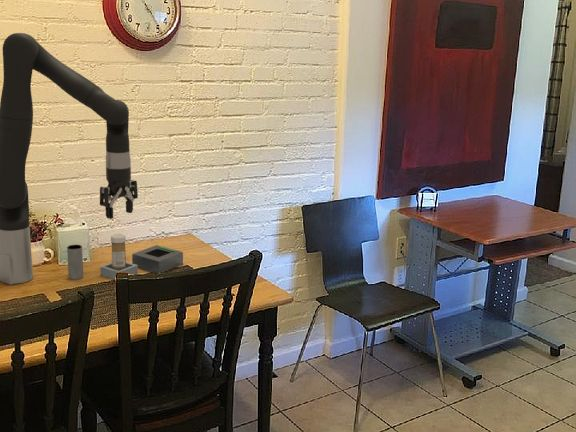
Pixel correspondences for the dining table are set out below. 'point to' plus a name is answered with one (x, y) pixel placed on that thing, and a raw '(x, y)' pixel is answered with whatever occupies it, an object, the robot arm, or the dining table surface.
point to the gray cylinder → (75, 262)
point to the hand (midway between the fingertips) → (119, 215)
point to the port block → (157, 259)
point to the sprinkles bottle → (118, 251)
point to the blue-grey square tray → (111, 273)
